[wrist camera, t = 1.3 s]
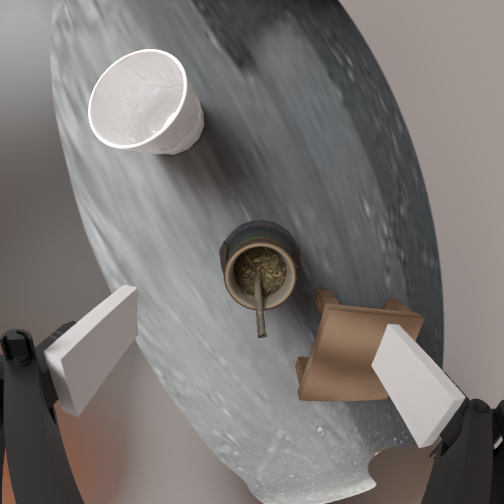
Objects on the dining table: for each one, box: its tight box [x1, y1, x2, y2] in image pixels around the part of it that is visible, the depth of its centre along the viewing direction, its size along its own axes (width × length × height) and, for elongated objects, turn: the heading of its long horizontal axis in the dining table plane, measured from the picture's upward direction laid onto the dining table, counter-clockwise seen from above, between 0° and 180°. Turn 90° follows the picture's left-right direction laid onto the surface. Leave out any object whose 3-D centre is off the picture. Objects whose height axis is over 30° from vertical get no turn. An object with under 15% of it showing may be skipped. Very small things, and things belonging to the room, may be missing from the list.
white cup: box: [88, 49, 204, 155], centre depth 20 cm, size 8×8×10 cm
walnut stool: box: [296, 289, 424, 401], centre depth 27 cm, size 11×11×6 cm
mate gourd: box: [219, 220, 300, 338], centre depth 23 cm, size 7×8×10 cm
